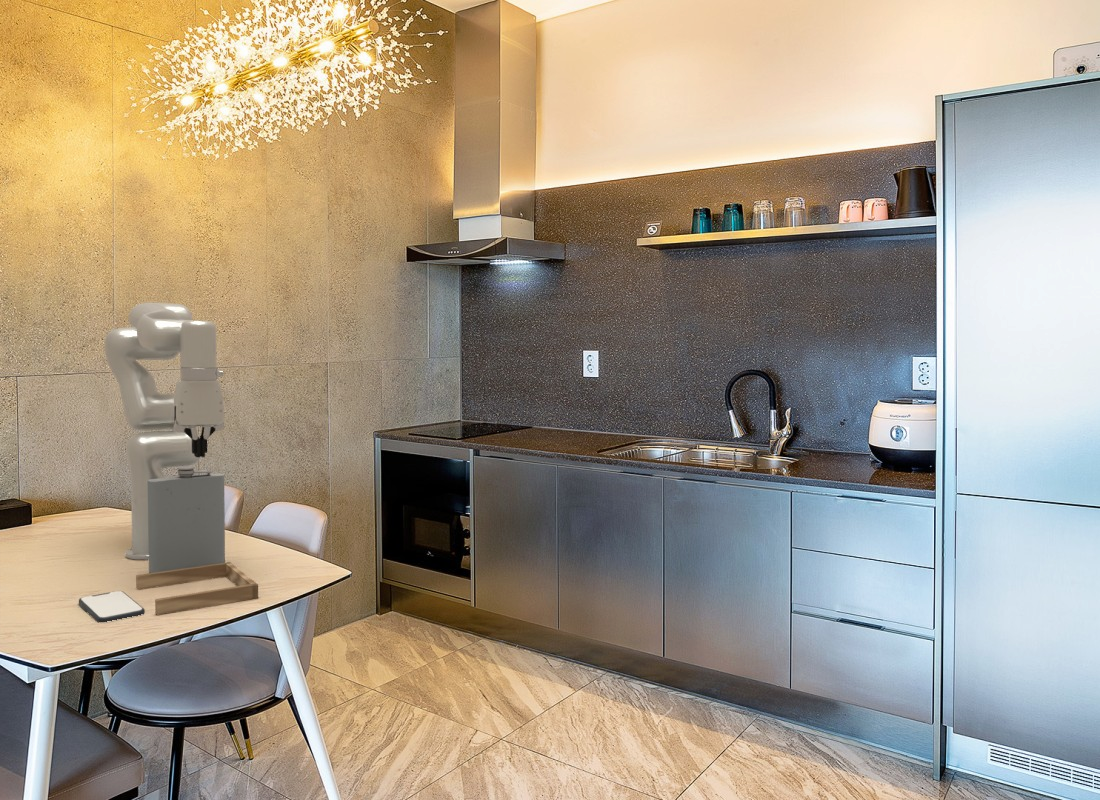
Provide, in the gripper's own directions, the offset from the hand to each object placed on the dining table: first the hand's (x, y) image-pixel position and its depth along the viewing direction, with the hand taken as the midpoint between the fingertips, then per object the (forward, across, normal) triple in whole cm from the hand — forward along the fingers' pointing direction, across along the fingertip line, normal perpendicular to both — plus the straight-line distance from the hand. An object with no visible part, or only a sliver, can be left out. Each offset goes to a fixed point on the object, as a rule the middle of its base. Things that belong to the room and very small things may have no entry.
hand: (199, 456), depth 187 cm
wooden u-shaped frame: (+29, +3, +8) cm, 30 cm away
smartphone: (+30, +20, +10) cm, 37 cm away
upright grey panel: (+29, 0, -13) cm, 32 cm away
